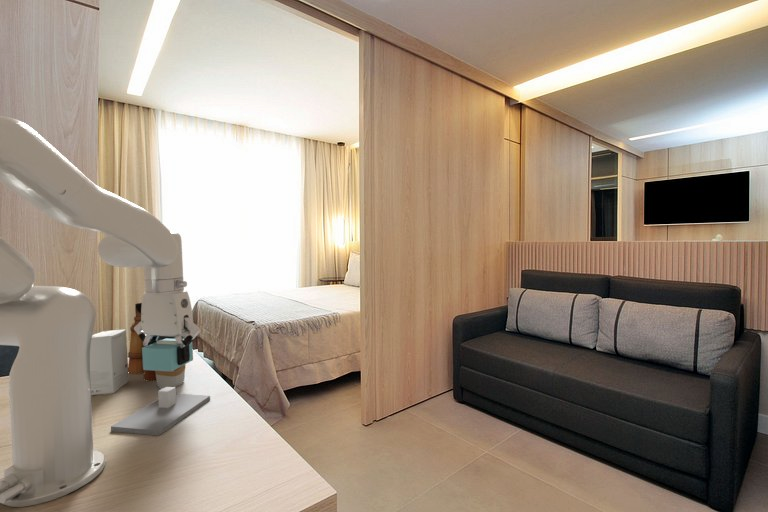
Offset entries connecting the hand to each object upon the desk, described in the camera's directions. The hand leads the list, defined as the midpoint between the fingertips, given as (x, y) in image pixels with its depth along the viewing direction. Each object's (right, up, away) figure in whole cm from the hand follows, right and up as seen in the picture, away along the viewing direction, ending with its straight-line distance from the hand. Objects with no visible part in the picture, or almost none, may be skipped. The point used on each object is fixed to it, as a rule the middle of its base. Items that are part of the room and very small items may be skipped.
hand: (168, 361), depth 82 cm
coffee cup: (-8, -11, +14) cm, 19 cm away
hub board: (+1, -11, -2) cm, 11 cm away
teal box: (0, -1, 0) cm, 1 cm away
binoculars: (-19, -10, +23) cm, 31 cm away
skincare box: (-23, -11, +11) cm, 28 cm away
